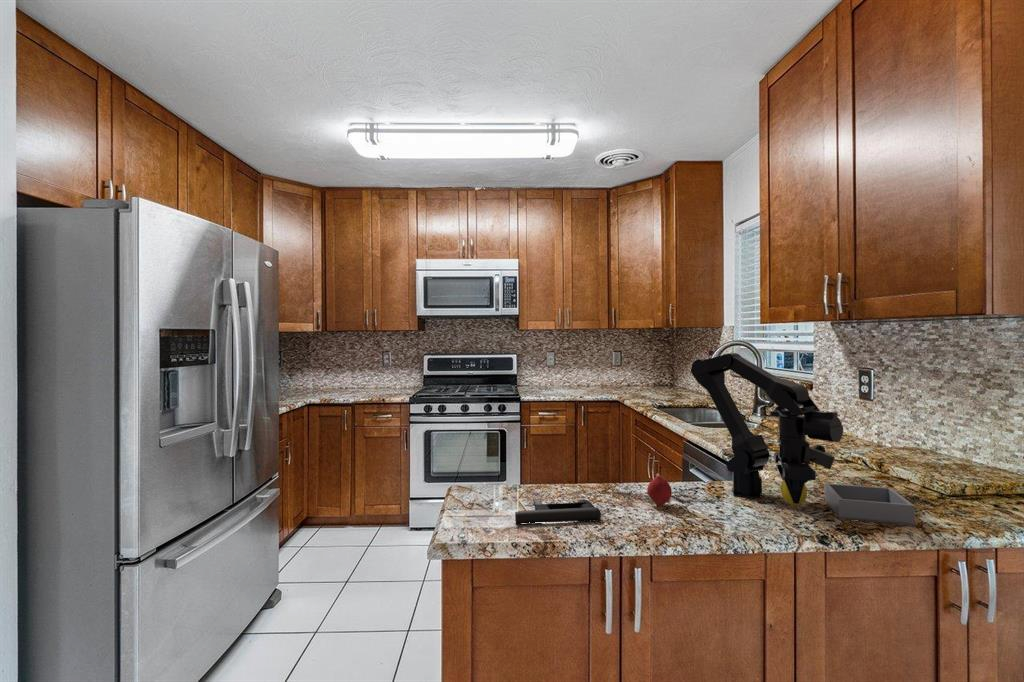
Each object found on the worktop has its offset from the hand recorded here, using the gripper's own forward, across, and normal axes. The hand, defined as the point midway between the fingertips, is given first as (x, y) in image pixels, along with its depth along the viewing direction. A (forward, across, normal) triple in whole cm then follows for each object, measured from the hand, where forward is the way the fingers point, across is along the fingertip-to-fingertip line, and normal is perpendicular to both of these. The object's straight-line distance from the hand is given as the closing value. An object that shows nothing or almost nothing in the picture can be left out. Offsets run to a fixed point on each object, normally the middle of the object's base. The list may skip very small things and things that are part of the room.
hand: (793, 499), depth 120 cm
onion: (+2, -9, +31) cm, 32 cm away
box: (+2, 0, -15) cm, 15 cm away
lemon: (+2, 0, 0) cm, 2 cm away
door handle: (+3, -22, +54) cm, 59 cm away
